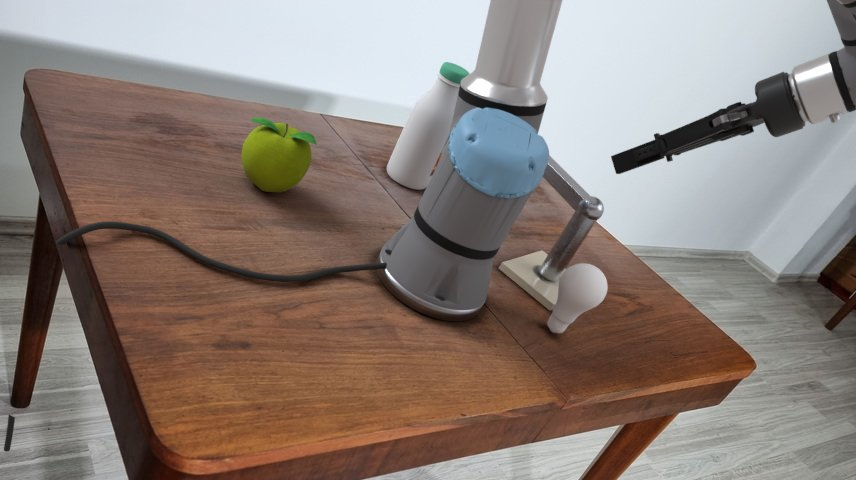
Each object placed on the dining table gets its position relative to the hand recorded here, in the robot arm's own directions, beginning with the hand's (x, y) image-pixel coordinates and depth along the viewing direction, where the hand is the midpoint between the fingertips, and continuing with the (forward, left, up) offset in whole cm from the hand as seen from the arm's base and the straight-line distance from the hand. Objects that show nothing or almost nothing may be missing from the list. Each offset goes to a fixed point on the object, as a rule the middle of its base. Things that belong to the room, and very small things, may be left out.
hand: (615, 165), depth 103 cm
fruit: (-37, +29, -19) cm, 51 cm away
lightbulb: (-16, -10, -19) cm, 27 cm away
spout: (-4, +3, -17) cm, 18 cm away
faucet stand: (-6, -2, -19) cm, 20 cm away
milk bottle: (-8, +27, -19) cm, 34 cm away
